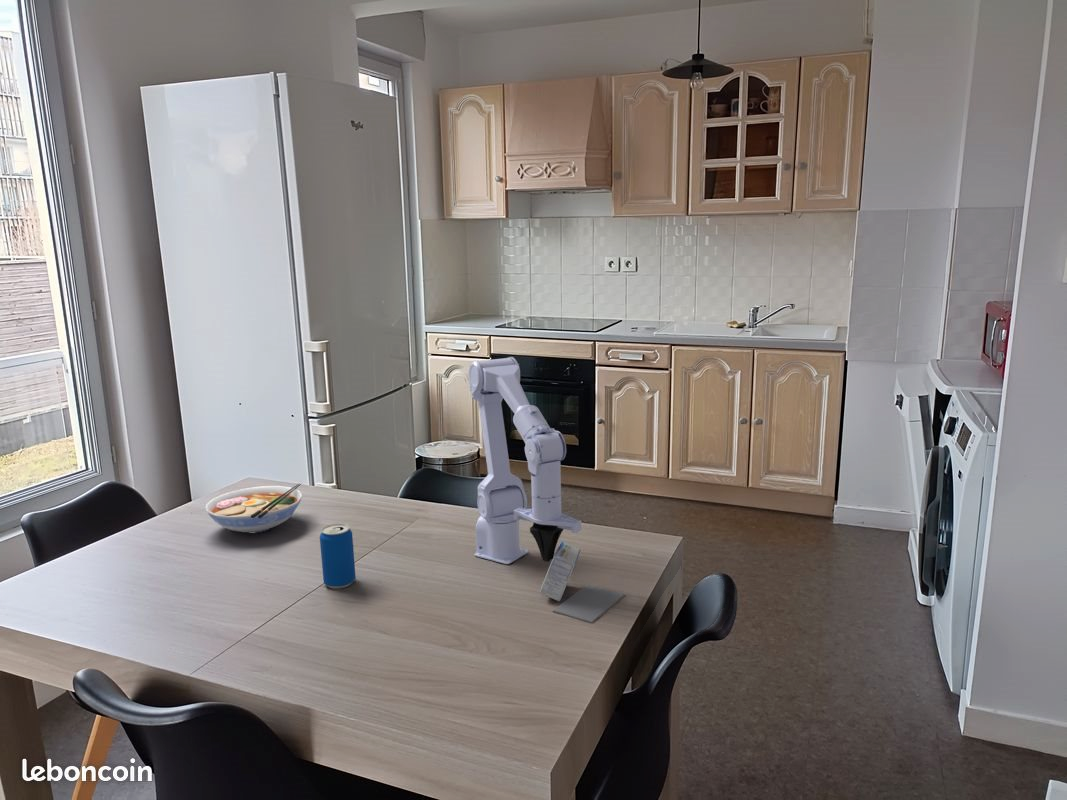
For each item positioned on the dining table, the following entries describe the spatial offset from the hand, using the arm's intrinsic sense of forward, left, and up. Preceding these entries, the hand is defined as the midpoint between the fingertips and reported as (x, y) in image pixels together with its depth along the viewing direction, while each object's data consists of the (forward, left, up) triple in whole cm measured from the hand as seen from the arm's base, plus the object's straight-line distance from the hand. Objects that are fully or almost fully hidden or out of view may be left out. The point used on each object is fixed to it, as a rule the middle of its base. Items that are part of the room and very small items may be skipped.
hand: (547, 559), depth 151 cm
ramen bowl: (-81, -8, -7) cm, 82 cm away
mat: (+9, 0, -7) cm, 12 cm away
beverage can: (-39, -19, -7) cm, 44 cm away
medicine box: (+1, 0, -6) cm, 6 cm away
